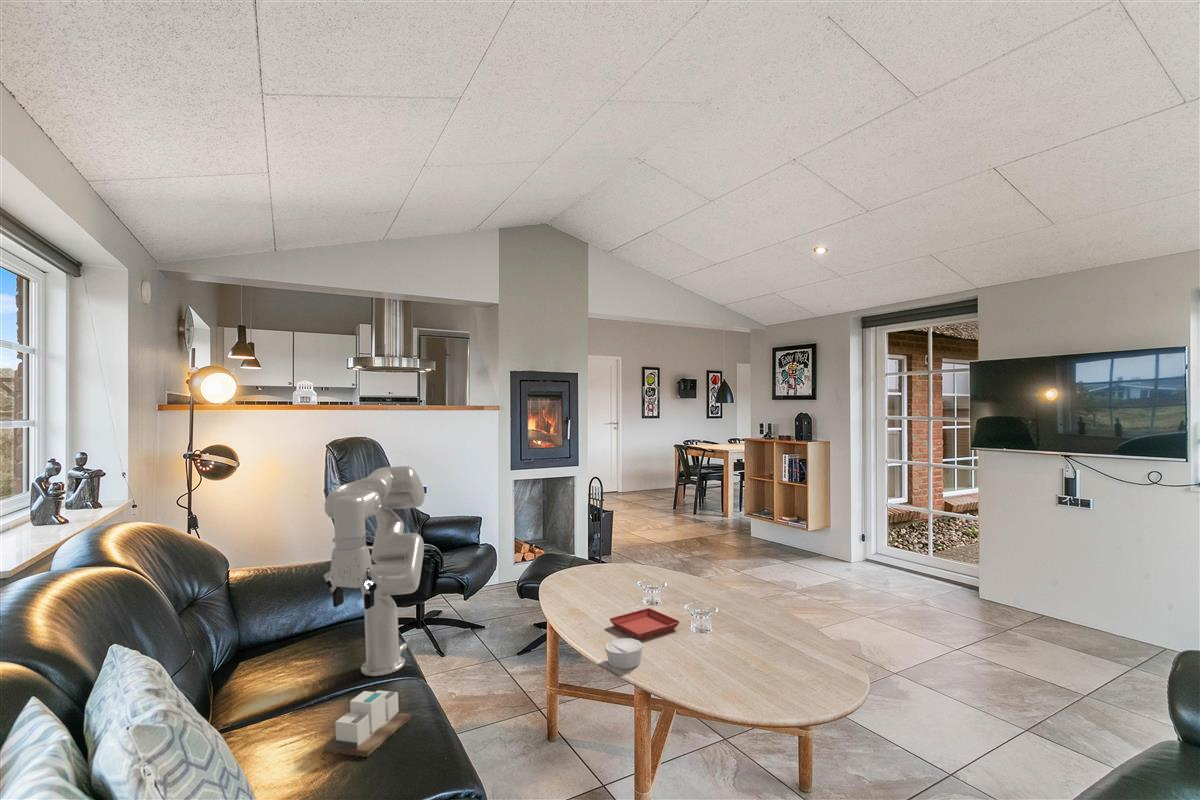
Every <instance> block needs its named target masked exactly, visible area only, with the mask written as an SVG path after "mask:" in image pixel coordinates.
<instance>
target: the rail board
mask: <svg viewBox="0 0 1200 800" xmlns="http://www.w3.org/2000/svg"><path fill="white" fill-rule="evenodd" d="M409 720H410V721H411V714H410V713H404V712H403V713H402V712H400V711H399V712H398V713H396V714H395V715H394V716H393V717H392V718H390V719H389V720H386V722H385V723H384V724H383V725H382V726H381V727H379V728H378V729H377V730H376V731H375V732H373V733H370V736H369V737H368V738H367V739H365V740H364V741H363V742H362V743H361V744H359V745H358V746H357V743H354V742H347V741H339V740H336V735H335V736H333V737H332V738H330V740H328V741H327V742H326V743H325V744H323V751H326V753H331V752H334V753H333V754H338V753H345V754H355V755H363V756H369V755H370V754H371V753H372V752H373V751H374V750H375V749H376V748H377V747H379V746H380V745H381V744H382V743H383V742H384V741H385V740H386V739H387V738H388V737H389V736H390V735H391V734H392V733H394V732H395V731H396V730H397V729H398V728H399V727H401V726H402V725H403V724H405V723H406V722H407V721H409ZM410 721H409V722H410ZM335 752H336V753H335Z"/></svg>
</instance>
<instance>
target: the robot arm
mask: <svg viewBox="0 0 1200 800" xmlns="http://www.w3.org/2000/svg"><path fill="white" fill-rule="evenodd" d="M425 496H426V492H425V489H424V486H423V483H422V481H421V479H420V477H419V475H418V473H417V471H416V470H415V469H414V468H413V467H411V466H409V465H402V466H401V465H400V466H385V467H384V466H383V467H379V468H377V469H375V470H374V471H372V472H371V473H370V474H369V475H367V476H366V477H364V478H361V479H358V480H355V481H354V480H353V481H351V482H348V483H345V484H342V485H339V486H337V487H335V488H334V489H333V490H332V491H330V493H328V495H327V497H326V499H325V501H324V511H325V514H326V516H328V518H330V519H333V525H334V526H333V529H334V537H333V538H332V543H334V546H335V547H334V548H333V549H332V552H331V558H330V559H331V560H330V570H329V571H328V572H326V573H324V574H323V579H324V580H325V582H326V585H327V587H328V588H329V590H330V592H331V593H332V605H333V607H334V608H336V607H338V606H340V605H343V604H344V589H343V588H345V589H346V588H351V589H360V590H361V595H362V601H363V611H364V635H365V636H364V637H365V662H364V663H363V664H362V665H361V666H360V672H361V674H363V675H364V676H367V677H368V676H369V677H379V676H385V675H389V674H393V673H395V672H397V671H399V670H400V669H402V668H403V667H404V665H405V663H406V659H405V657H403V656H402V652H403V651H404V650H405V651H406V649H407V648H408V644H407V643H405V642H403V643H402V644H400V643H399V617H398V616H399V615H398V614H399V613H398V607H397V603H396V602H395V600H394V599H393V597H391V596H394V595H395V596H396V595H407V594H413V593H415V592H416V591H417V590H418V588H419V586H420V581H421V573H422V567H423V561H424V560H423V559H424V555H425V554H424V553H425V552H424V551H425V545H424V543H425V542H424V539H423V537H422V536H421V534H419V533H416V532H409V533H404V530H405V529H404V528H405V524H404V523H405V522H404V521H403V519H402V518H401V517H400V516H399V515H398V514H397V513H396V512H394V510H396V509H397V510H398V509H399V510H400V509H401V510H402V509H414V508H419V507H421V506H422V505H423V504H424V501H425V499H426V498H425ZM373 516H374V517H375V520H376V531H375V534H374V535H375V536H374V540H373V544H372V549H371V553H370V549H369V545H367V537H366V536H367V535H366V534H367V533H366V532H367V531H366V518H372V517H373ZM372 562H374V564H372Z"/></svg>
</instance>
